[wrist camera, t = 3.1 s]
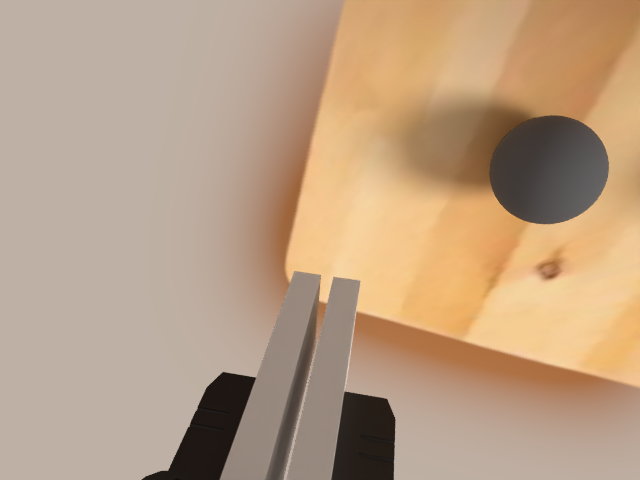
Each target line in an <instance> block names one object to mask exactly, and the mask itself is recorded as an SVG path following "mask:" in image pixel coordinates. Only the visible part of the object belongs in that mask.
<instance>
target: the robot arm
mask: <svg viewBox="0 0 640 480" xmlns="http://www.w3.org/2000/svg"><path fill="white" fill-rule="evenodd" d="M320 279H321V275H317V274H311V273H304V272H297V271H294V274H293V277H292V279H291V282H290V285H289V288H288V291H287V293H286V297H285V299H284V302H283V305H282V307H281V310H280V313H279V316H278V318H277V321H276V324H275V327H274V330H273V332H272V335H271V338H270V341H269V344H268V346H267V349H266V352H265V355H264V358H263V360H262V364H261V366H260V369H259V371H258V374H257V377H256V378H255V377H249V376H243V375H237V374H231V373H226V372H223V373H222V374H220V376H218V377H217V378H216V379H215V380H214V381H213V382H212V383H211V384H210V385H209V386H208V387H207V388H206V390H205V393H204V395H203V397H202V399H201V401H200V403H199V405H198V409H197V411H196V412H195V414H194V416H193V419H192V421H191V423H190V427H188V429H187V431H186V433H185V436H184V438H183V440H182V442H181V444H180V446H179V449H178V451H177V453H176V455H175V457H174V459H173V461H172V464H171V466H170V468H169V470H168V471H160V472H157V473H154V474H152V475H149V476H146V477H145V478H143V479H142V480H283V479H284V474H285V471H286V466H287V462H288V457H289V453H290V450H291V445H292V441H293V437H294V432H295V429H296V424H297V420H298V416H299V412H300V408H301V403H302V399H303V395H304V391H305V387H306V383H307V378H308V374H309V370H310V366H311V362H312V357H313V353H314V349H315V343H316V330H317V317H318V304H319V292H320ZM359 287H360V281H359V280H352V279H345V278H338V277H333V282H332V286H331V290H330V294H329V299H328V303H327V307H326V312H325V316H324V320H323V325H322V329H321V333H320V337H319V342H318V346H317V350H316V355H315V359H314V363H313V367H312V372H311V376H310V380H309V385H308V389H307V393H306V398H305V402H304V406H303V411H302V415H301V419H300V423H299V428H298V432H297V436H296V440H295V445H294V449H293V453H292V458H291V462H290V466H289V470H288V475H287V480H394V448H395V445H394V442H395V417H394V415H393V412H392V410H391V407H390V405H389V403H388V400H387V399H384V398H379V397H373V396H368V395H362V394H356V393H350V392H345V389H346V382H347V375H348V368H349V361H350V354H351V347H352V340H353V332H354V325H355V317H356V310H357V302H358V295H359Z"/></svg>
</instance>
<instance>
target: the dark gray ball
mask: <svg viewBox="0 0 640 480" xmlns="http://www.w3.org/2000/svg"><path fill="white" fill-rule="evenodd" d="M608 169H609V162H608V156H607V153H606V149H605V147H604V145H603V143H602V141H601V140H600V138H599V137H598V136H597V134H596V133H595V132H594V131H593V130H592V129H590V128H589V127H588V126H586V125H585V124H583V123H581V122H579V121H577V120H575V119H571V118H568V117H563V116H543V117H537V118H534V119H531V120H528V121H526V122H523V123H521V124H520V125H518V126H516V127H515V128H514V129H512V130H511V131H510V132H509V133H508V134H507V135H506V136H505V137H504V138H503V139H502V140H501V142H500V143H499V145H498V146H497V148H496V150H495V152H494V154H493V157H492V160H491V165H490V182H491V186H492V190H493V192H494V194H495V196H496V198H497V200H498V201H499V203H500V204H501V205H502V206H503V207H504V208H505V209H506V210H507V211H508V212H509V213H511V214H512V215H514V216H516V217H518V218H520V219H522V220H524V221H527V222H531V223H537V224H554V223H560V222H564V221H567V220H570V219H572V218H574V217H576V216H578V215H580V214H581V213H583V212H584V211H586V210H587V209H588V208H589V207H590V206H592V205H593V204H594V202H595V201H596V200H597V199H598V197H599V196H600V194H601V193H602V191H603V189H604V187H605V184H606V181H607V177H608Z"/></svg>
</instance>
